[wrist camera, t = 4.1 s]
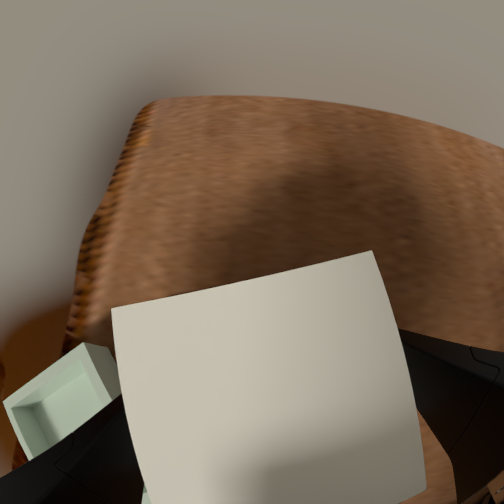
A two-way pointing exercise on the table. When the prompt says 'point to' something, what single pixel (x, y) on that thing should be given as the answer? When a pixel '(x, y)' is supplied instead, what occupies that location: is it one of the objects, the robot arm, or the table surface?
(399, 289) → the table surface
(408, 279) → the table surface
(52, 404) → the tray
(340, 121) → the table surface
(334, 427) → the white block
